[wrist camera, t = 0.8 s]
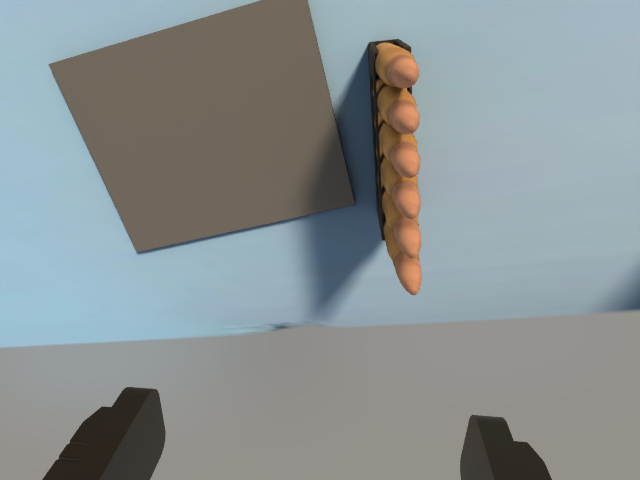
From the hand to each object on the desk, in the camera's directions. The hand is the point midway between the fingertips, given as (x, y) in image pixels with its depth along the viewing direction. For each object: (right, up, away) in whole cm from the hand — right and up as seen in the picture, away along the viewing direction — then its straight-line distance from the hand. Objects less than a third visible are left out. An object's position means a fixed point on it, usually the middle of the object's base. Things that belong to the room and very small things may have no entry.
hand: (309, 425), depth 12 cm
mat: (-7, +11, +17) cm, 22 cm away
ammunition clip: (+5, +12, +17) cm, 21 cm away
